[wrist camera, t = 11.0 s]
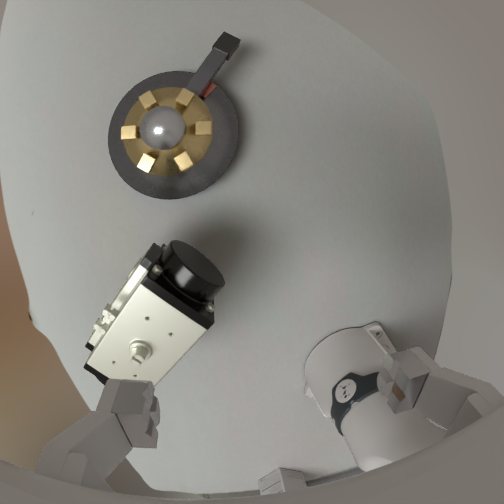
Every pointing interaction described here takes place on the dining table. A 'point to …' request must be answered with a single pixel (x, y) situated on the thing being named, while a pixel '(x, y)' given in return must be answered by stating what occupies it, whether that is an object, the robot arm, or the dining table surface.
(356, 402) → the robot arm
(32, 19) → the dining table surface
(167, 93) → the lever handle valve
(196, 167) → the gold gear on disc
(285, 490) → the supplement box
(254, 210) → the dining table surface
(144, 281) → the ball valve
